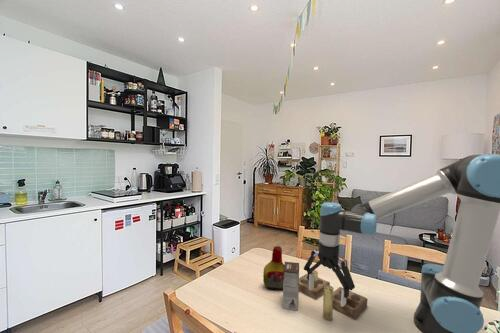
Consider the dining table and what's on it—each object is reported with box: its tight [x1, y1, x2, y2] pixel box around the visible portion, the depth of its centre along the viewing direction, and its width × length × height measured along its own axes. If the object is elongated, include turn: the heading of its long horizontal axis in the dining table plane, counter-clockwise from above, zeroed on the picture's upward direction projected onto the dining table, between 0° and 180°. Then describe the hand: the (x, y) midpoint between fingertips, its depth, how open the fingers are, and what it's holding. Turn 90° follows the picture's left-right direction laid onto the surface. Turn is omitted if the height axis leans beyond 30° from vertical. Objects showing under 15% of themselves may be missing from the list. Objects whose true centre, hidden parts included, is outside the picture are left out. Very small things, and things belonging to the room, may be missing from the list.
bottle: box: [262, 245, 285, 291], centre depth 113 cm, size 12×6×20 cm, turn 76°
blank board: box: [333, 286, 368, 320], centre depth 100 cm, size 12×12×4 cm
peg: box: [322, 285, 335, 322], centre depth 93 cm, size 4×4×12 cm
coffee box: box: [282, 261, 300, 311], centre depth 101 cm, size 9×6×16 cm
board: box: [299, 269, 331, 301], centre depth 113 cm, size 12×12×10 cm
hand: (326, 296), depth 93 cm, fingers open, 13 cm apart
